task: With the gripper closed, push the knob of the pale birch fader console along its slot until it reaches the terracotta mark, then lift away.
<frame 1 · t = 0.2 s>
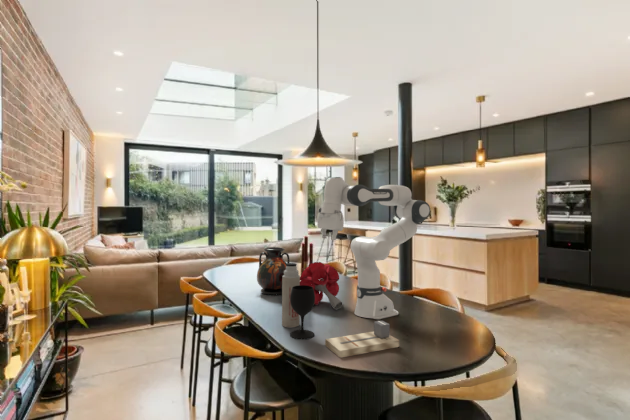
hand: (328, 239, 166), 39 cm above the table, tool pointing down, fingers open, 8 cm apart
thermos bottle: (290, 325, 159), on the table
fader: (381, 329, 139), point 5 cm above the table, slide at 0.0 cm
wine glass: (302, 335, 146), on the table
bouquet: (320, 304, 193), on the table
console: (362, 346, 135), on the table
amphora vase: (273, 293, 218), on the table
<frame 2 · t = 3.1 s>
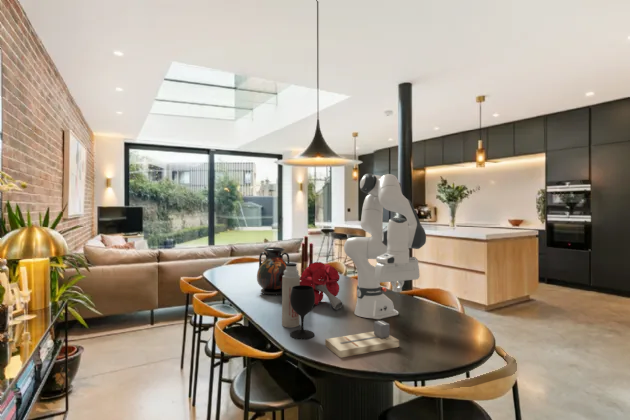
hand: (397, 291, 142), 20 cm above the table, tool pointing down, fingers closed
nothing on the table moved.
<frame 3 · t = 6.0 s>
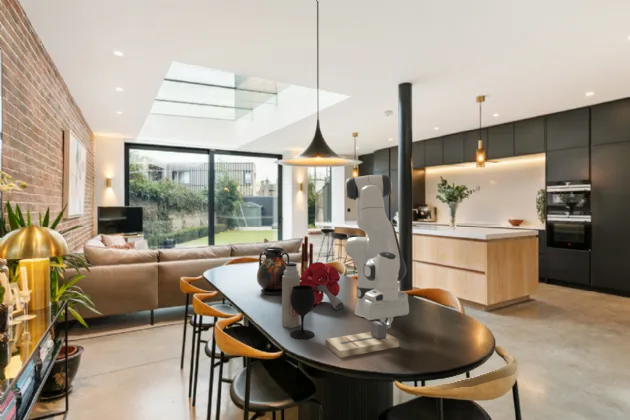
hand: (386, 327, 140), 6 cm above the table, tool pointing down, fingers closed
fader: (378, 329, 138), point 5 cm above the table, slide at 1.5 cm, touching gripper
everything else where it was.
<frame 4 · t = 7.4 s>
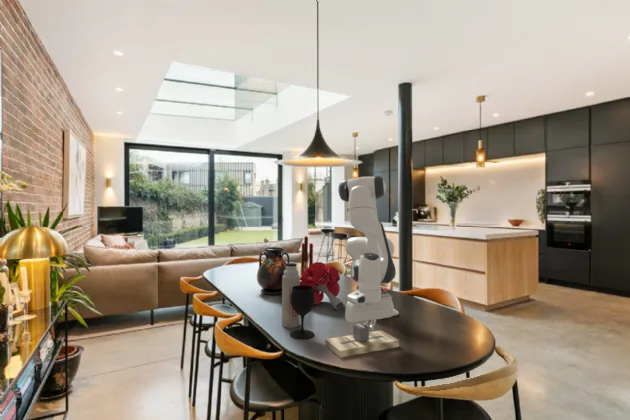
hand: (369, 330, 136), 6 cm above the table, tool pointing down, fingers closed
fader: (360, 332, 135), point 5 cm above the table, slide at 9.6 cm, touching gripper
everything else where it was.
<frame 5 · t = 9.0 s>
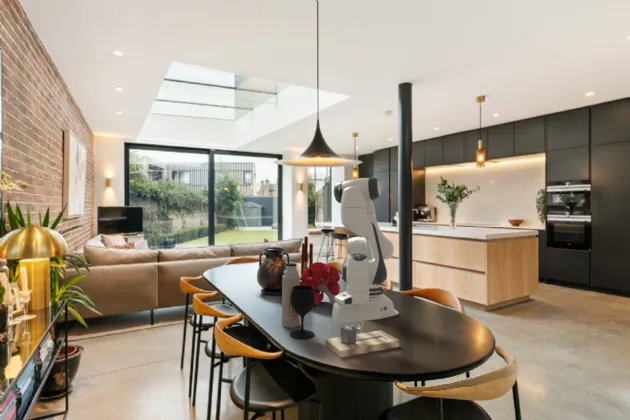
hand: (357, 332, 134), 6 cm above the table, tool pointing down, fingers closed
fader: (348, 334, 133), point 5 cm above the table, slide at 15.2 cm, touching gripper
everything else where it was.
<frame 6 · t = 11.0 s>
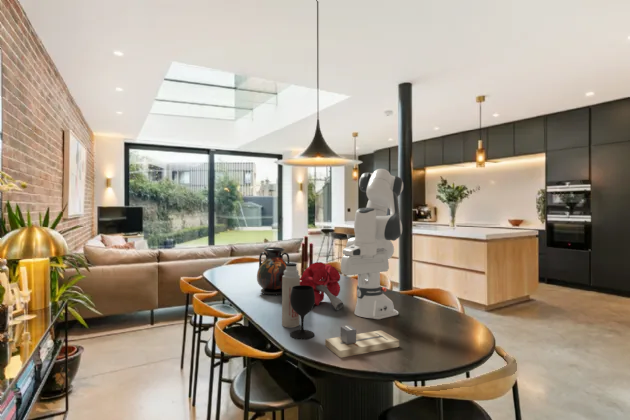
hand: (365, 284, 136), 24 cm above the table, tool pointing down, fingers closed
fader: (348, 334, 133), point 5 cm above the table, slide at 15.2 cm
everything else where it was.
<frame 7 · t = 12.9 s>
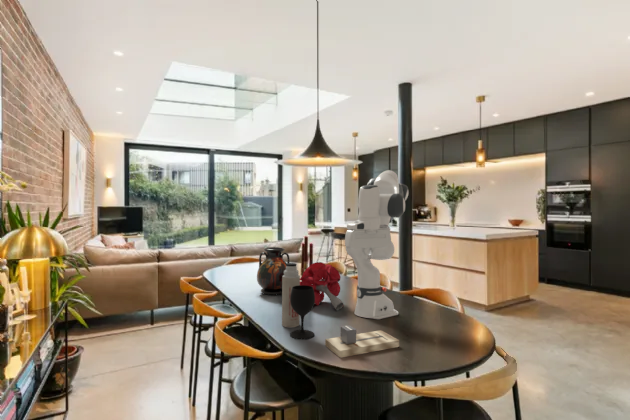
hand: (368, 259, 141), 33 cm above the table, tool pointing down, fingers closed
nothing on the table moved.
at the end: fader slide at 15.2 cm; thermos bottle moved 0.2 cm from its start; wine glass moved 0.2 cm from its start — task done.
